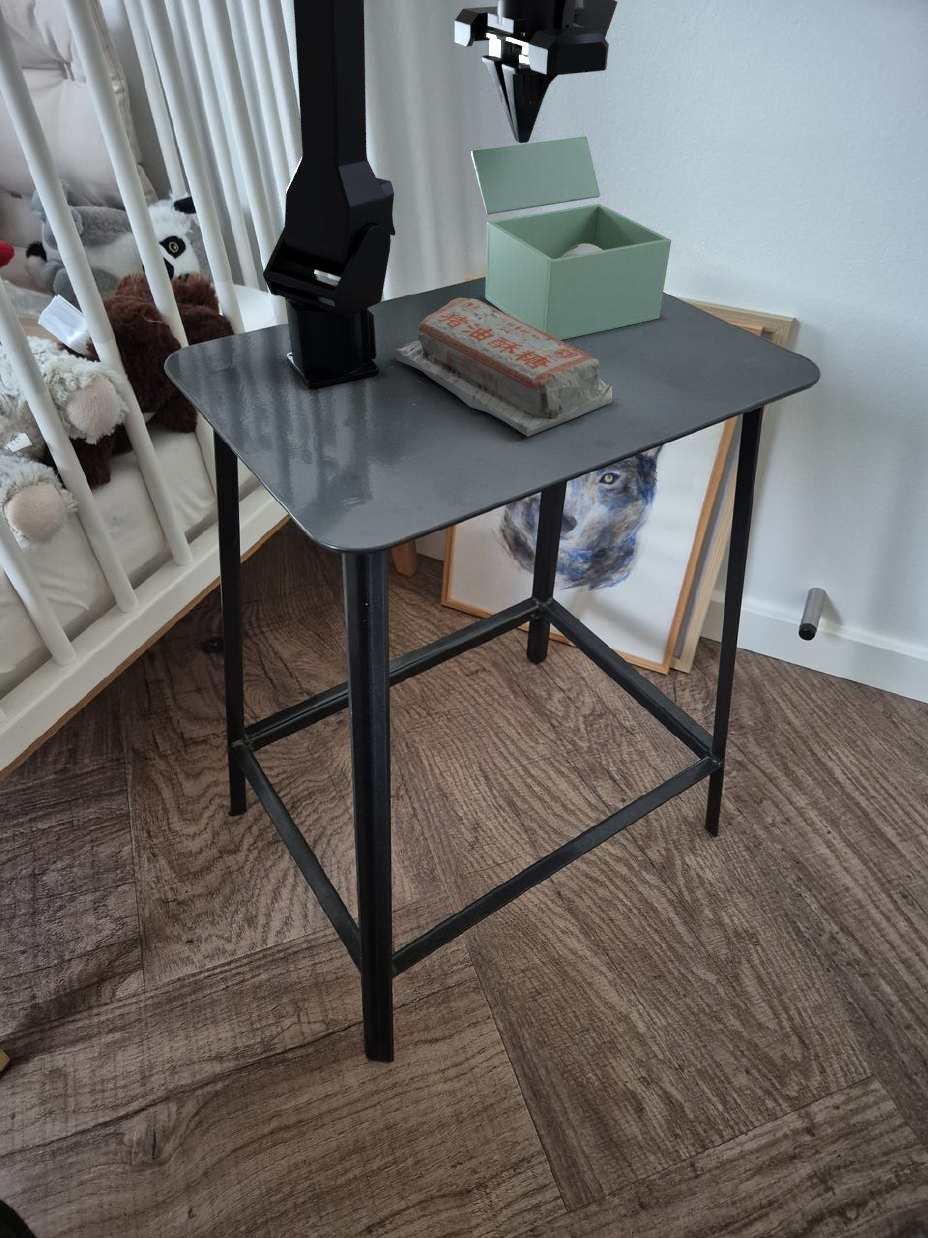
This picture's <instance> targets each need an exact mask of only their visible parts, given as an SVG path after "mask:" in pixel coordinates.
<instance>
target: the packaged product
mask: <svg viewBox="0 0 928 1238" xmlns="http://www.w3.org/2000/svg"><path fill="white" fill-rule="evenodd" d="M417 337H418V339H417V340H414V341H411V342H409V343H408V342H407V343H405V344H404V346H403V347H402V348H393V350H394V353H395V359H396V361H398V362H401V363H403V364H405V365H408V366H410V367H413V368H415V369H417V370H419V371H421V372H422V373H424V374H425V375H426V376H427V377H428V378H430V379H431V380H433V381H434V382H436V383H437V384H438V385H440V386H442V387H444V388H445V389H446V390H448V391H449V392H451V393H452V394H454V395H455V396H456V397H458V398H459V399H460V400H461V401H462V402H463V403H465V404H466V405H467V406H468V407H469V408H472V409H476V410H479V411H483V412H486V413H488V414H490V415H492V416H494V417H495V418H497V419H499V420H501V421H503V422H505V423H506V424H507V425H509V426H510V427H512V428H513V429H515V430H517V431H518V432H520V433H522V434H523V435H524V436H526V437H527V438H528V437H530V436H533V435H536V434H537V433H540V432H543V431H545V430H548V429H551V428H553V427H556V426H558V425H560V424H563V423H565V422H568V421H570V420H573V419H575V418H577V417H580V416H582V415H586V414H588V413H589V412H592V411H594V410H597V409H600V408H601V407H604V406H606V405H609V404H611V403H613V384H608V383H607V384H606V383H605V381H603V380H602V379H600V375H601V373H602V369H601V362H600V360H598V359H597V358H596V357H593V356H591V355H590V354H587V353H586V352H585V351H582V350H581V349H578V348H576V347H575V346H572V345H571V344H568V343H566V342H564V341H563V340H558V339H556V338H554V337H552V336H550V335H548V334H546V333H544V332H542V331H540V330H538V329H536V328H534V327H532V326H530V325H528V324H526V323H524V322H521V321H519V320H518V319H515V318H513V317H512V316H510V315H507V314H506V313H504V312H503V311H502V310H500V309H499V310H498V309H497V308H495V307H493V306H491V305H489V304H488V303H485V302H483V301H481V300H479V299H476V298H465V297H456V298H454V299H452V300H450V301H449V302H448V303H447V304H445V305H444V306H442V307H440V308H439V309H437V311H434V312H432V313H430V314H428V315H427V316H426V317H425V318H424V319H422V320H421V321H420V322H419V323H418V326H417Z"/></svg>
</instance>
